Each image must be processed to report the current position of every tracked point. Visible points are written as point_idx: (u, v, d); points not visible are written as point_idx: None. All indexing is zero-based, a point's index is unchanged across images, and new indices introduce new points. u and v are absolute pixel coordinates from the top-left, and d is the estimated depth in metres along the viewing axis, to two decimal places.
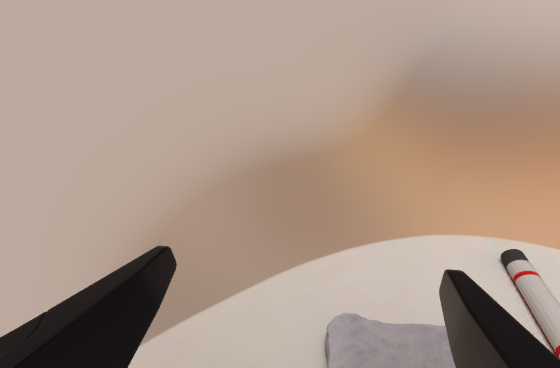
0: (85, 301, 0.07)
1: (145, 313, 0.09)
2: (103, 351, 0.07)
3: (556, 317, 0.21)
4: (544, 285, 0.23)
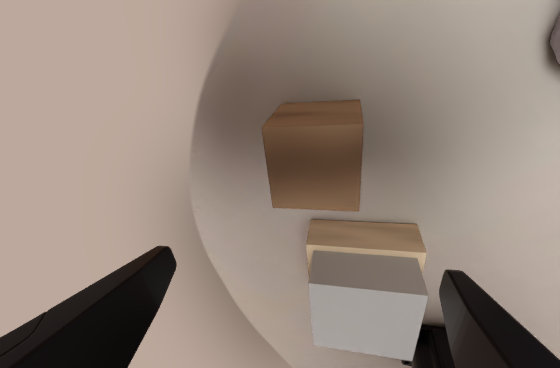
0: (85, 301, 0.07)
1: (145, 313, 0.09)
2: (103, 351, 0.07)
3: None
4: None
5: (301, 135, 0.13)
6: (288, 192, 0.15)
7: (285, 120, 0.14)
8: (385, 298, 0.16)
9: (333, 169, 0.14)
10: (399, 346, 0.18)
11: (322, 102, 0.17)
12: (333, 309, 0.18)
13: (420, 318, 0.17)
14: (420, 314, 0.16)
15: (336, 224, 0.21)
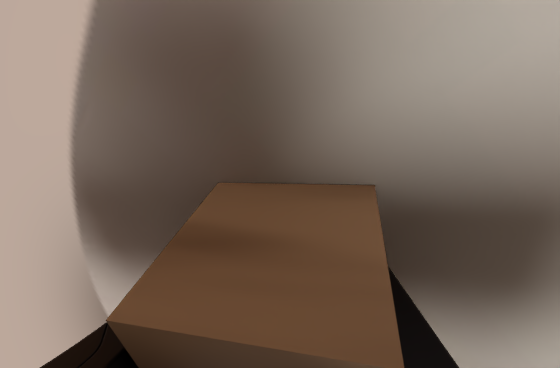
0: None
1: None
2: None
3: None
4: None
5: (214, 354, 0.05)
6: None
7: (186, 277, 0.06)
8: None
9: None
10: None
11: (295, 189, 0.08)
12: None
13: None
14: None
15: None
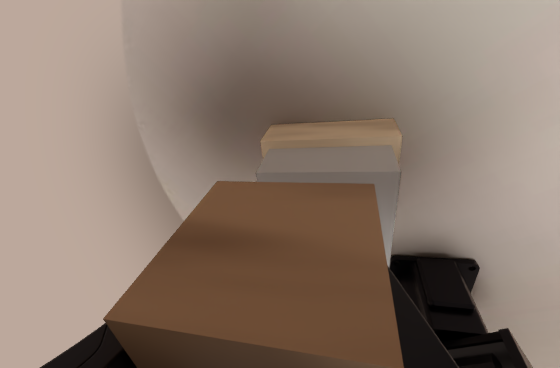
0: None
1: None
2: None
3: None
4: None
5: (212, 353, 0.05)
6: None
7: (184, 275, 0.06)
8: None
9: None
10: None
11: (295, 188, 0.08)
12: None
13: (393, 209, 0.13)
14: (393, 202, 0.13)
15: (299, 125, 0.18)
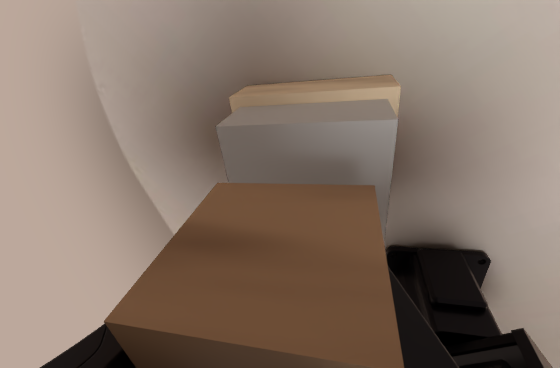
0: None
1: None
2: None
3: None
4: None
5: (213, 356, 0.05)
6: None
7: (185, 277, 0.06)
8: (332, 137, 0.10)
9: None
10: None
11: (295, 189, 0.08)
12: (260, 175, 0.12)
13: (388, 173, 0.10)
14: (388, 164, 0.10)
15: (279, 84, 0.15)
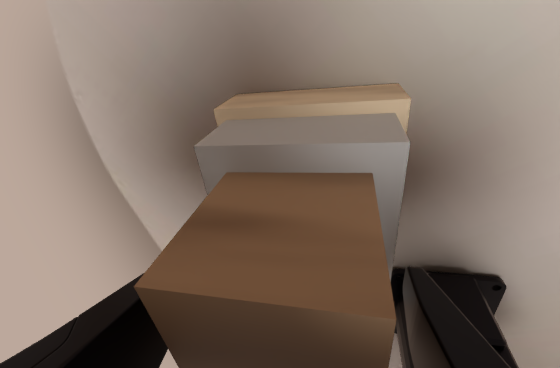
0: (116, 306, 0.07)
1: None
2: (134, 357, 0.07)
3: None
4: None
5: (230, 314, 0.05)
6: None
7: (203, 251, 0.06)
8: (330, 161, 0.09)
9: None
10: None
11: (299, 177, 0.09)
12: None
13: (397, 203, 0.09)
14: (396, 193, 0.09)
15: (272, 93, 0.13)
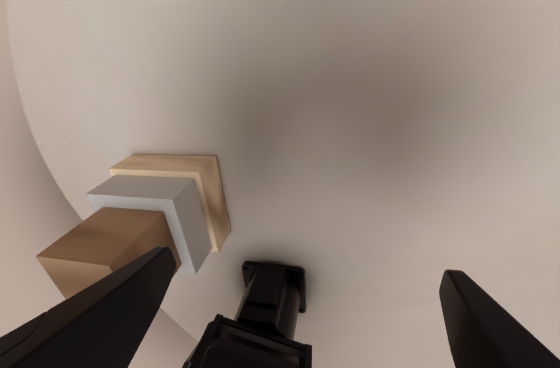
0: (85, 301, 0.07)
1: (145, 313, 0.09)
2: (103, 351, 0.07)
3: None
4: None
5: (68, 266, 0.15)
6: None
7: (67, 244, 0.16)
8: (145, 205, 0.18)
9: None
10: None
11: (131, 211, 0.19)
12: None
13: (178, 225, 0.19)
14: (176, 220, 0.19)
15: (150, 156, 0.23)
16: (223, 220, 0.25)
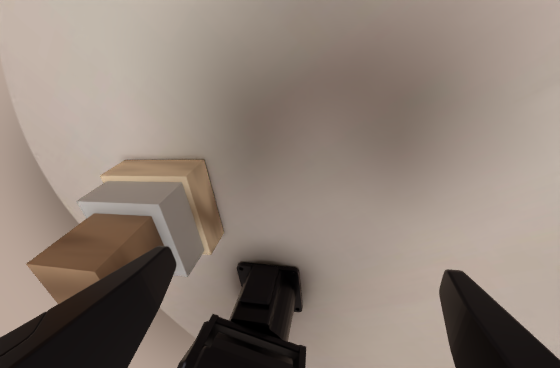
0: (85, 301, 0.07)
1: (145, 313, 0.09)
2: (103, 351, 0.07)
3: None
4: None
5: (57, 273, 0.15)
6: None
7: (56, 251, 0.16)
8: (133, 210, 0.19)
9: None
10: None
11: (120, 217, 0.19)
12: None
13: (167, 229, 0.19)
14: (164, 225, 0.19)
15: (140, 162, 0.24)
16: (215, 222, 0.25)
